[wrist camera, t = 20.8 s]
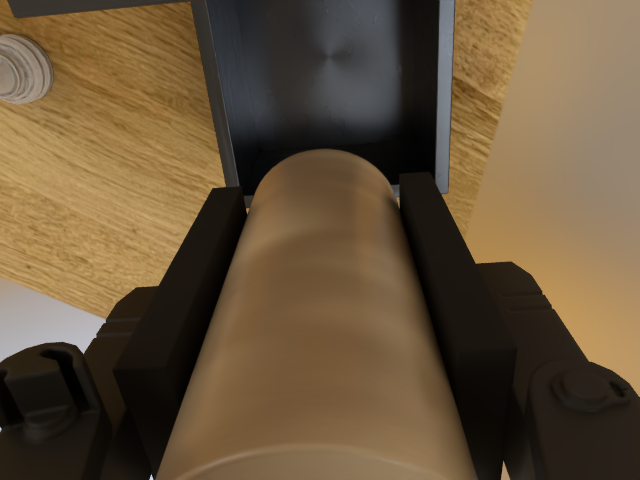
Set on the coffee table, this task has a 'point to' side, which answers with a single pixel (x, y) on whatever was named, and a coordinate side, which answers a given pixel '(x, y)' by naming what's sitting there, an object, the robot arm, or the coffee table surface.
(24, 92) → the chess piece
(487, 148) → the coffee table surface
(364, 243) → the tan wooden cylinder
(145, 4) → the handled dark lid
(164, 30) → the coffee table surface
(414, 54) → the dark boxy piece
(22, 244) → the coffee table surface
